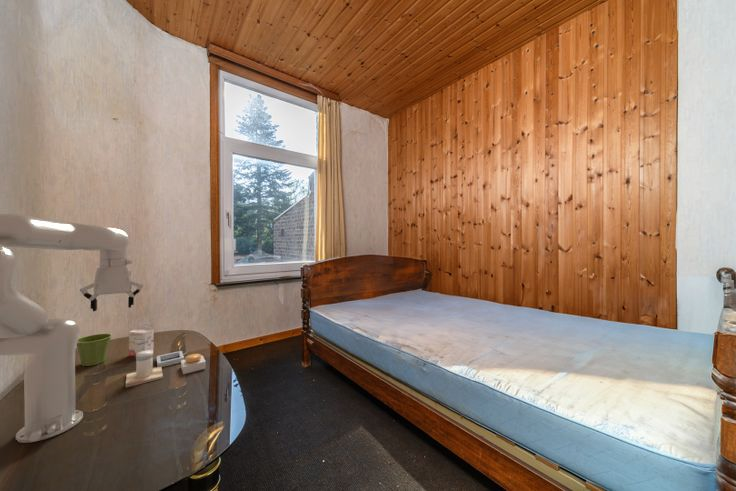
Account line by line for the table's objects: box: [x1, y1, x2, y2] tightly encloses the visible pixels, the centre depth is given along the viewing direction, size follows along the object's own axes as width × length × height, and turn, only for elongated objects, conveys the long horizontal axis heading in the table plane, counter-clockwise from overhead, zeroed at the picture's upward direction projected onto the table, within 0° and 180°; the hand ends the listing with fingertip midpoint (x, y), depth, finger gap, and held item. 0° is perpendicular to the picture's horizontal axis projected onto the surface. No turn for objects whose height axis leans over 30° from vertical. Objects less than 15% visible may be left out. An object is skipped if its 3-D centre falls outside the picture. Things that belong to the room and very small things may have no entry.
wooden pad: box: [124, 366, 164, 388], centre depth 107 cm, size 11×11×1 cm
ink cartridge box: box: [128, 322, 155, 357], centre depth 127 cm, size 9×5×15 cm, turn 84°
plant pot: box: [76, 333, 113, 367], centre depth 118 cm, size 12×12×11 cm
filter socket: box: [156, 350, 185, 368], centre depth 121 cm, size 9×9×2 cm
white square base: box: [180, 354, 207, 375], centre depth 115 cm, size 8×8×3 cm
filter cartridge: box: [135, 350, 154, 378], centre depth 107 cm, size 5×5×9 cm
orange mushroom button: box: [184, 353, 202, 363], centre depth 115 cm, size 6×6×4 cm
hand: (112, 308), depth 101 cm, fingers open, 9 cm apart
